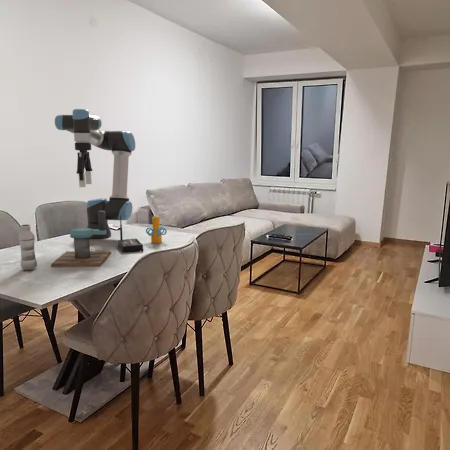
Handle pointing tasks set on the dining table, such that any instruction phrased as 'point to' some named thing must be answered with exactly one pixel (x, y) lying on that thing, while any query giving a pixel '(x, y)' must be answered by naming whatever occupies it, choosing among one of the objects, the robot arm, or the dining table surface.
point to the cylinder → (156, 230)
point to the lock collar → (88, 231)
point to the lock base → (83, 262)
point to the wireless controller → (129, 243)
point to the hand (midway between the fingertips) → (85, 185)
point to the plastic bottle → (27, 248)
